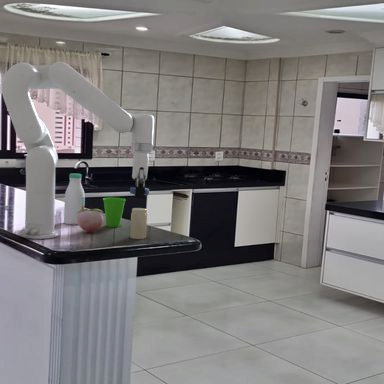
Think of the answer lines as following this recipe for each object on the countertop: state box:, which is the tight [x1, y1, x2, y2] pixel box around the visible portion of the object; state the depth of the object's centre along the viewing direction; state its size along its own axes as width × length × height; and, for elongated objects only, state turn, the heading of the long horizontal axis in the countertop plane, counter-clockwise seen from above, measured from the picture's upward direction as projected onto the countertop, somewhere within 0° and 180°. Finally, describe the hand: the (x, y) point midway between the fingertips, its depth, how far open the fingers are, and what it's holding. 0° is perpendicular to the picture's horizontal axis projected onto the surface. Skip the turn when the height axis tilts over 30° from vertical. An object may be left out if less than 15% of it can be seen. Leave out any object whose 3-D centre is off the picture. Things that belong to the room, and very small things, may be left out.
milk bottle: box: [63, 173, 86, 225], centre depth 227 cm, size 8×8×20 cm
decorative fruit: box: [77, 205, 105, 234], centre depth 211 cm, size 9×8×10 cm
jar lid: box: [129, 186, 150, 196], centre depth 207 cm, size 7×7×2 cm
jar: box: [129, 207, 148, 240], centre depth 208 cm, size 6×6×11 cm
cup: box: [102, 197, 127, 228], centre depth 227 cm, size 9×9×11 cm
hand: (139, 196), depth 207 cm, fingers closed on jar lid, 6 cm apart
